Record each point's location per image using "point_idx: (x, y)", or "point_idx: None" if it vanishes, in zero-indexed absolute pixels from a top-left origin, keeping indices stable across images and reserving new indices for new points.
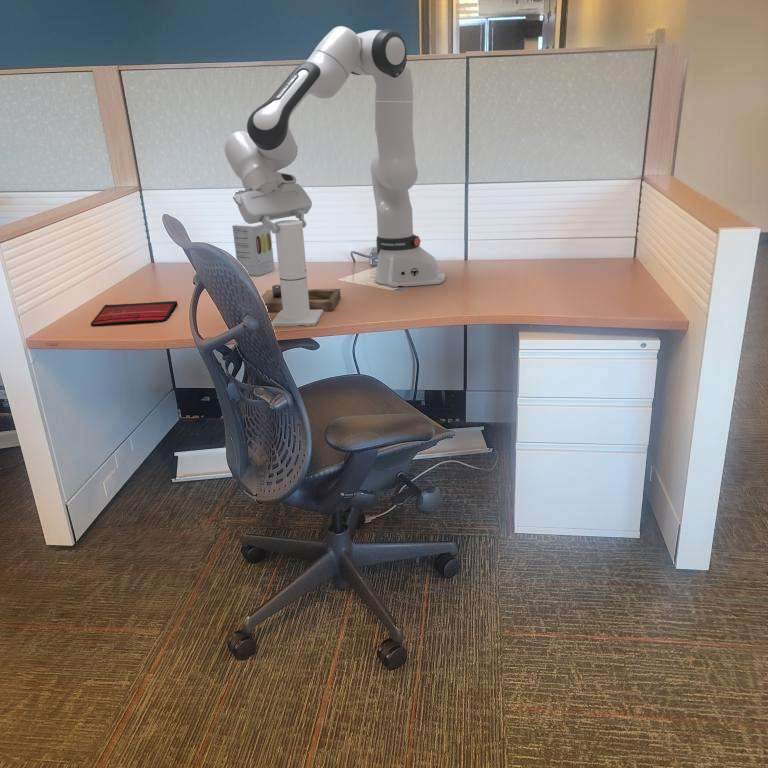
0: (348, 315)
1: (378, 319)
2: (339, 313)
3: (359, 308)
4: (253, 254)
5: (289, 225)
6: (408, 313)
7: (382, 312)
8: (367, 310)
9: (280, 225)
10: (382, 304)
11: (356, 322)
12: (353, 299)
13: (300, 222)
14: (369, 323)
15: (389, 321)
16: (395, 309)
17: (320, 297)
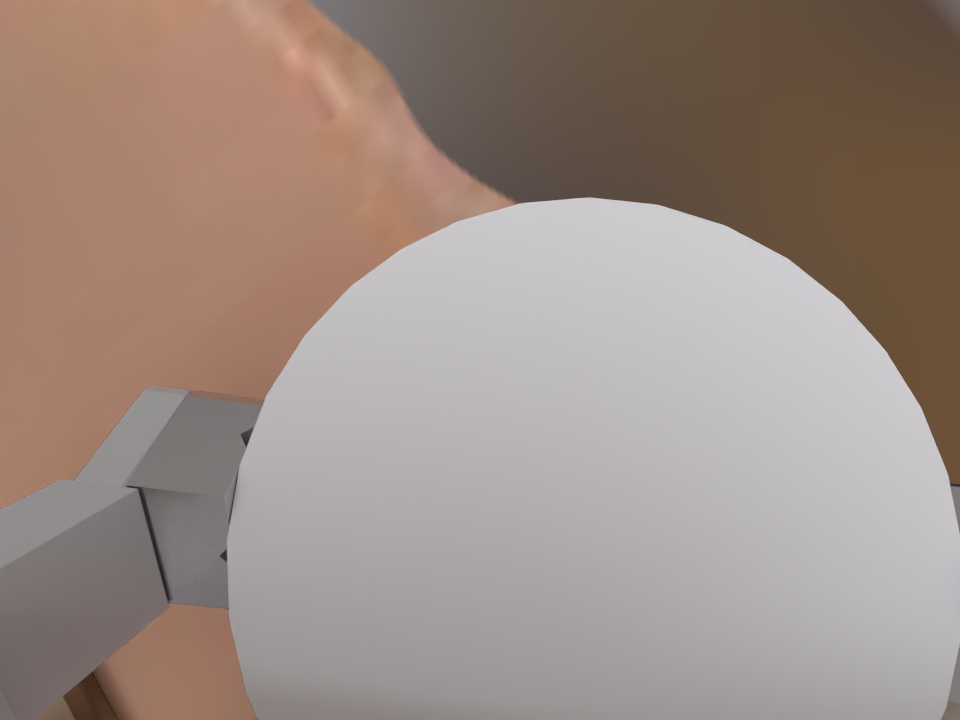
0: (297, 281)
1: (275, 94)
2: (292, 352)
3: (154, 315)
4: None
5: (800, 278)
6: (109, 24)
7: (158, 152)
8: (165, 248)
9: (935, 470)
10: (23, 248)
11: (377, 160)
12: (6, 478)
13: (436, 265)
14: (355, 92)
15: (275, 26)
16: (76, 125)
17: (92, 687)
